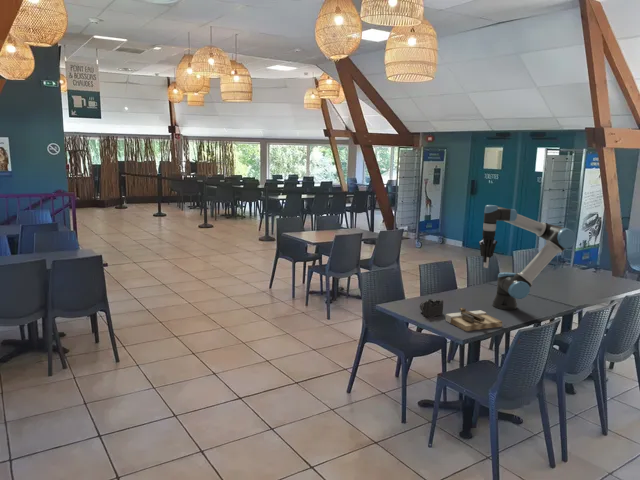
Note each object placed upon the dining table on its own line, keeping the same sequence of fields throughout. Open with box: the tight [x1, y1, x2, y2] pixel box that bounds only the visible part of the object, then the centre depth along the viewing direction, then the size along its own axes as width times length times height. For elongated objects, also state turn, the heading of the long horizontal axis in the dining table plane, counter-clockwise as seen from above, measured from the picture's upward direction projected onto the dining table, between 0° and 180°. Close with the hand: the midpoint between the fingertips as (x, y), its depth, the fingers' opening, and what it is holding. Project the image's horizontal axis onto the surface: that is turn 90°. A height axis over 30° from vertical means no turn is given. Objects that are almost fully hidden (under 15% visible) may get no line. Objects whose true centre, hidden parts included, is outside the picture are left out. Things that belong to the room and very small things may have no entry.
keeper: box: [462, 313, 474, 323], centre depth 295 cm, size 2×8×4 cm, turn 22°
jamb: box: [445, 309, 487, 324], centre depth 306 cm, size 26×5×6 cm, turn 112°
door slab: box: [450, 313, 503, 332], centre depth 298 cm, size 26×14×3 cm, turn 112°
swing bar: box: [459, 307, 485, 322], centre depth 298 cm, size 18×4×3 cm, turn 27°
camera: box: [419, 298, 444, 318], centre depth 315 cm, size 14×11×10 cm
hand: (485, 267), depth 316 cm, fingers closed
